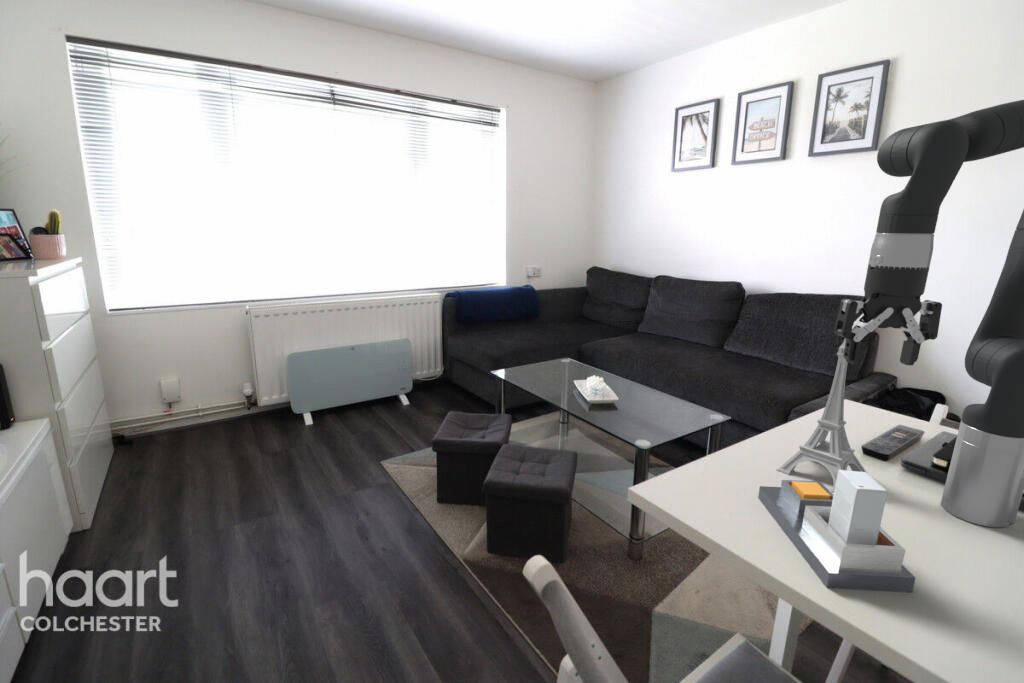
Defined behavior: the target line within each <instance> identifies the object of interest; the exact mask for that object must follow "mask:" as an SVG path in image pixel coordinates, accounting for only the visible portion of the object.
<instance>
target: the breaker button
mask: <svg viewBox="0 0 1024 683" xmlns="http://www.w3.org/2000/svg"><path fill="white" fill-rule="evenodd" d="M791 487H792V488H793V489H794V490H795V491H796V492H797V493H798V494H799V495H800V496H801V498H807V499H829V500H830V495H829V494H828V493H827V492H826V491H825V490H824V489H823V488H822V487H821V486H820V485H819V484H818V483H817V482H795V481H792V485H791Z"/></svg>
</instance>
